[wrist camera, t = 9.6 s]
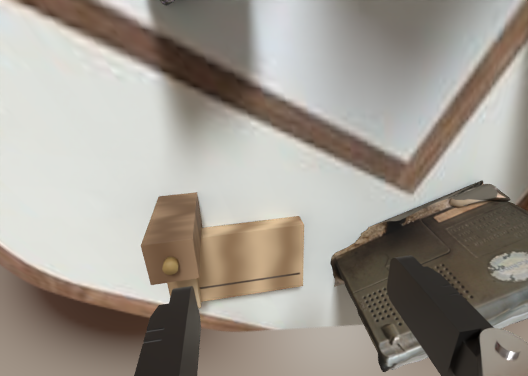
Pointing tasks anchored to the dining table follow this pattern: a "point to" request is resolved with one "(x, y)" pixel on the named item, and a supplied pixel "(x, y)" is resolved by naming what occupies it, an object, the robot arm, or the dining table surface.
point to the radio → (441, 264)
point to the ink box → (166, 1)
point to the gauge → (174, 242)
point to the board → (250, 258)
